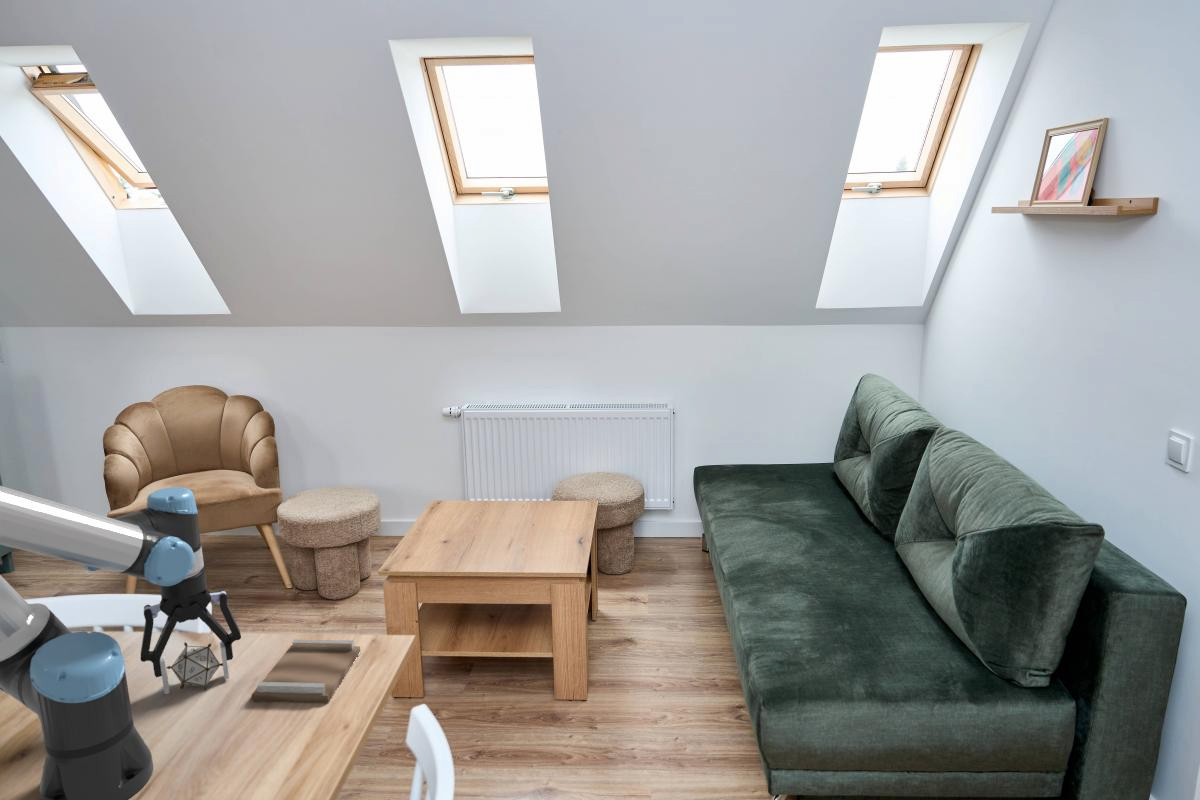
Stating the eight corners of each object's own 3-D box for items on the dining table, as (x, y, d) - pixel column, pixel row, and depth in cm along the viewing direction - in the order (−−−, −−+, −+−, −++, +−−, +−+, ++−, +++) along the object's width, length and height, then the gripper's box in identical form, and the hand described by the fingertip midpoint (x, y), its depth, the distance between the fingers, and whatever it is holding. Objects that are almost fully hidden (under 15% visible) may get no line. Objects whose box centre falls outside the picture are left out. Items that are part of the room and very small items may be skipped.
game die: (211, 698, 160) (241, 653, 161) (185, 708, 152) (217, 660, 152) (175, 670, 162) (205, 626, 162) (148, 679, 153) (179, 632, 154)
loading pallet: (328, 703, 152) (326, 688, 151) (252, 701, 152) (250, 686, 152) (360, 653, 168) (359, 639, 168) (292, 651, 169) (290, 638, 168)
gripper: (245, 552, 161) (257, 658, 166) (112, 577, 151) (130, 688, 156) (249, 566, 154) (262, 676, 160) (110, 593, 144) (129, 709, 150)
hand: (197, 682), depth 158 cm, fingers closed on game die, 9 cm apart
